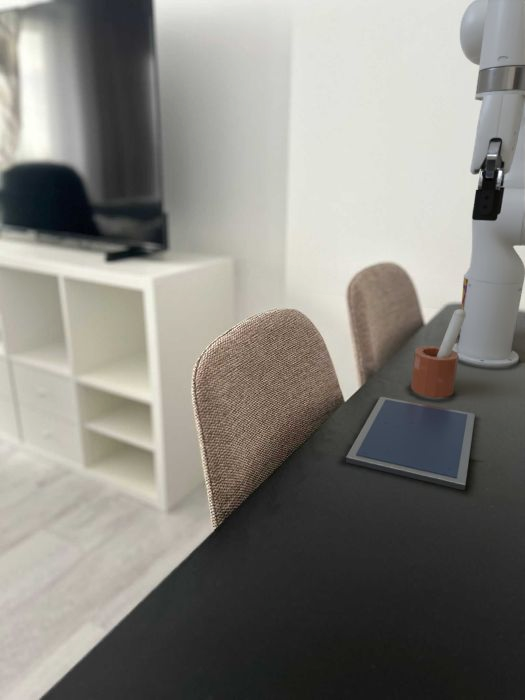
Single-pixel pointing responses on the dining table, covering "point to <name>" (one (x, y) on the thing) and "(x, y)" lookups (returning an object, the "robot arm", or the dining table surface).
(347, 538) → the dining table surface
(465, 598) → the dining table surface
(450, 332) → the stylus
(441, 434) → the tablet
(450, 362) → the holder
